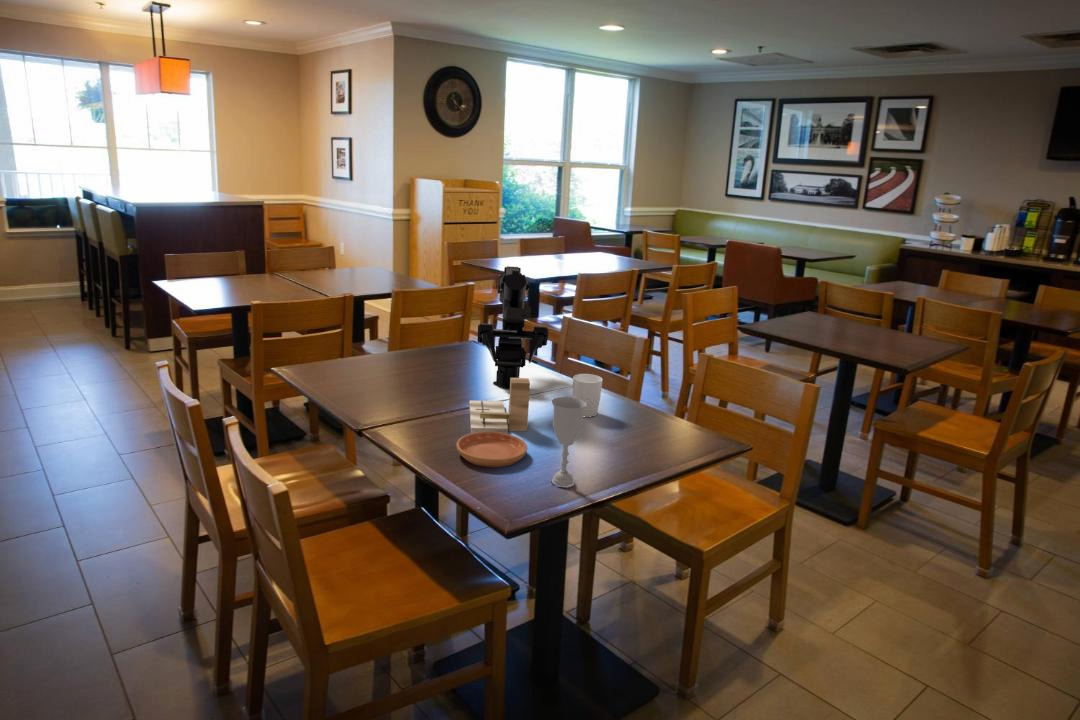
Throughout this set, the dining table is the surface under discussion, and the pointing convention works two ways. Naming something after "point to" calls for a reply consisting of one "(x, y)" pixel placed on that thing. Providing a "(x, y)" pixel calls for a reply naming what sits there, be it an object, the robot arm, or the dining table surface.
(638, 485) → the dining table surface
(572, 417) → the chalice
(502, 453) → the saucer
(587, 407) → the white cup
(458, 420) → the dining table surface
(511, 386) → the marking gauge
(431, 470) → the dining table surface
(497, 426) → the birch board
